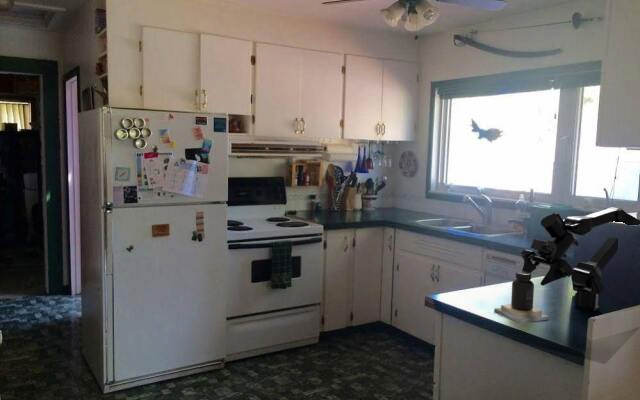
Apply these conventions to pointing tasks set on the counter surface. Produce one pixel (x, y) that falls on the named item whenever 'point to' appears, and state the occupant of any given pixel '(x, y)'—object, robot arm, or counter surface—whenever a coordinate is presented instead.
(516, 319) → the build base
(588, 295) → the robot arm
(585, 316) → the counter surface
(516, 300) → the supplement bottle
